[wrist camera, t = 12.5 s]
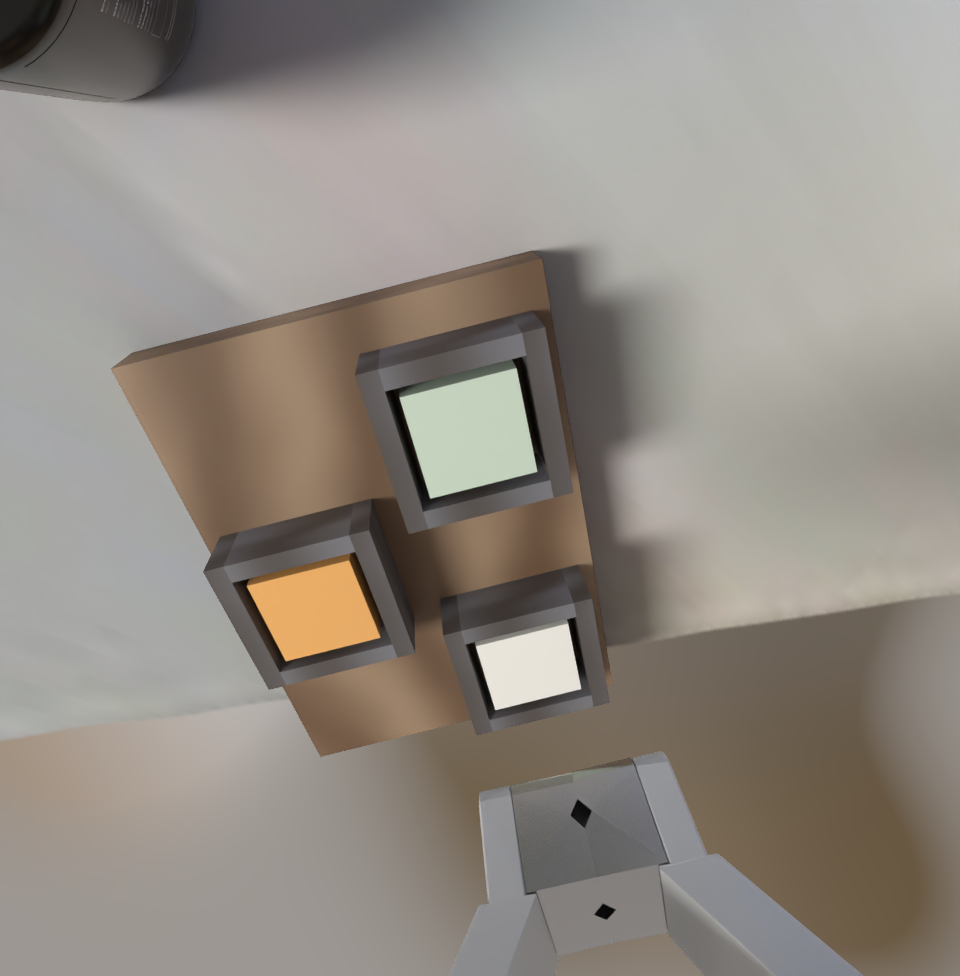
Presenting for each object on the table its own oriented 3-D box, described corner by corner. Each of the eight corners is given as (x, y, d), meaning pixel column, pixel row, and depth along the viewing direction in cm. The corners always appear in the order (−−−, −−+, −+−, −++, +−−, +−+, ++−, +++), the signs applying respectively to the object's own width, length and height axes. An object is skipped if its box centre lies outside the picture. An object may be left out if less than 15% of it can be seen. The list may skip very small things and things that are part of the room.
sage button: (507, 351, 23) (516, 367, 22) (528, 449, 25) (537, 471, 24) (399, 379, 23) (399, 397, 22) (428, 474, 25) (430, 498, 24)
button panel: (531, 250, 24) (557, 270, 20) (602, 657, 35) (627, 722, 31) (131, 353, 24) (79, 392, 20) (324, 726, 35) (314, 799, 31)
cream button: (558, 595, 29) (568, 623, 27) (571, 658, 31) (581, 689, 29) (471, 616, 29) (475, 646, 27) (490, 678, 31) (495, 710, 30)
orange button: (352, 533, 26) (349, 560, 25) (381, 607, 28) (380, 637, 27) (256, 557, 26) (246, 586, 25) (293, 629, 28) (285, 661, 27)
